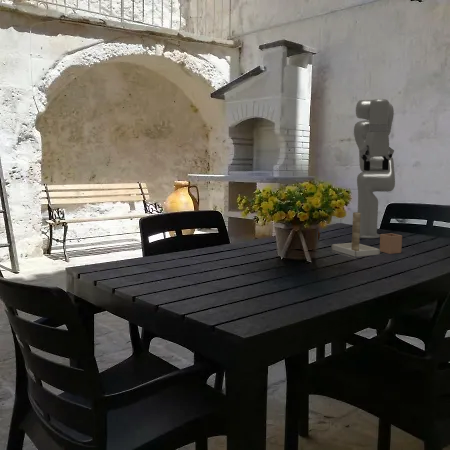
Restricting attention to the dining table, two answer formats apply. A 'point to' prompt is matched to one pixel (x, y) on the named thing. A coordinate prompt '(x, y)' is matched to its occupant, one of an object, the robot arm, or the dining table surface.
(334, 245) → the plastic tray
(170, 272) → the dining table surface
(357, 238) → the beech dowel
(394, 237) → the terracotta cup
